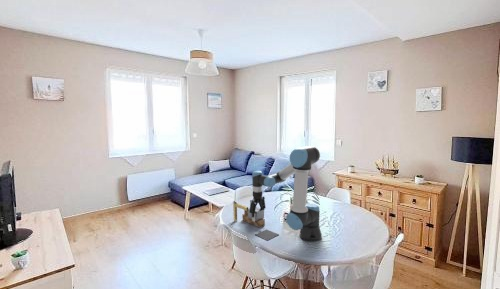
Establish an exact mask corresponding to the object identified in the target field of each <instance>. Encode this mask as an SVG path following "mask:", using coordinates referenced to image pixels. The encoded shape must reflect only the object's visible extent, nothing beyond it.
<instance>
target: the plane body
mask: <svg viewBox="0 0 500 289" xmlns="http://www.w3.org/2000/svg"><path fill="white" fill-rule="evenodd" d="M243 212H244V213H243V214H242V216H241V217H242V221H244V222H246V223H248V224H250V225H253V226H255V227H258V228H262V227H265V226H266V224H265V223H266V222H265V221H266V220H265V218H263V219H261V220H258V221H255V222H254V221H252V219H250V218H248V211H246V210H243Z"/></svg>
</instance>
